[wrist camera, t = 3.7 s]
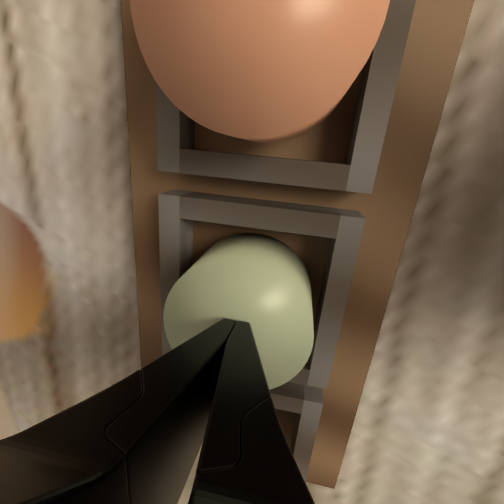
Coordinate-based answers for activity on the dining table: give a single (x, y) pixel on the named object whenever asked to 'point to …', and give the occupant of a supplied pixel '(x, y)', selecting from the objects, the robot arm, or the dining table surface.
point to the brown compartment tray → (299, 208)
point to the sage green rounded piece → (248, 300)
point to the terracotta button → (257, 59)
